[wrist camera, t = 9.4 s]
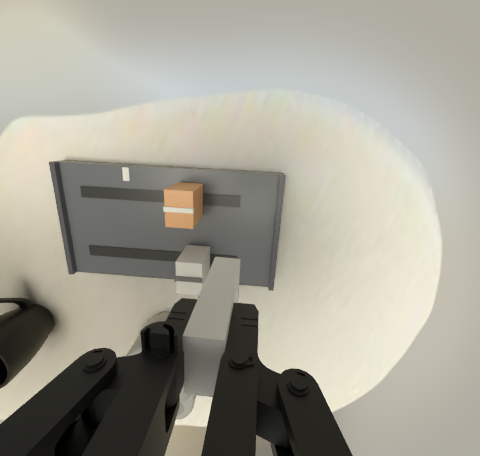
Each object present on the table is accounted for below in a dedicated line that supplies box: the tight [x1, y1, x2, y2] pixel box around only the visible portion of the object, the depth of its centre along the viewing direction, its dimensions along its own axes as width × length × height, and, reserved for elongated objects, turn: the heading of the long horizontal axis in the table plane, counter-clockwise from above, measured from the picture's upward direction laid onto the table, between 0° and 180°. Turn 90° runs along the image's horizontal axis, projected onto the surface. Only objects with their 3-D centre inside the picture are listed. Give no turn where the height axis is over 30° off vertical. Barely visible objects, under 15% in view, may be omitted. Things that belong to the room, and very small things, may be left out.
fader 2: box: [175, 245, 210, 295], centre depth 32 cm, size 3×4×5 cm
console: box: [49, 160, 285, 290], centre depth 34 cm, size 28×15×3 cm, turn 87°
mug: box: [0, 298, 54, 388], centre depth 37 cm, size 8×12×10 cm
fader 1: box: [163, 182, 203, 229], centre depth 29 cm, size 3×4×5 cm
